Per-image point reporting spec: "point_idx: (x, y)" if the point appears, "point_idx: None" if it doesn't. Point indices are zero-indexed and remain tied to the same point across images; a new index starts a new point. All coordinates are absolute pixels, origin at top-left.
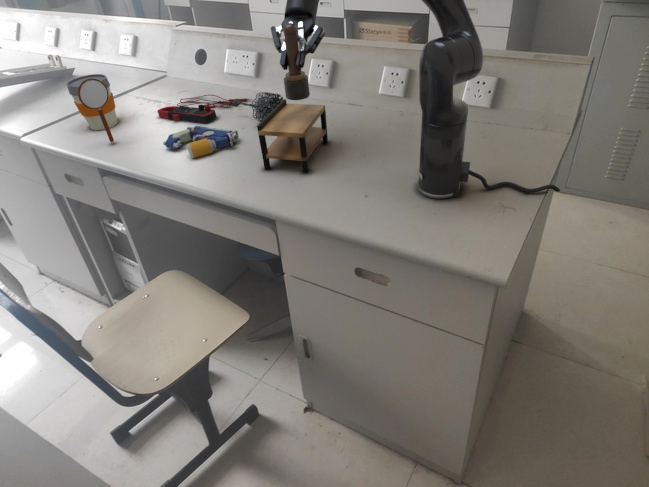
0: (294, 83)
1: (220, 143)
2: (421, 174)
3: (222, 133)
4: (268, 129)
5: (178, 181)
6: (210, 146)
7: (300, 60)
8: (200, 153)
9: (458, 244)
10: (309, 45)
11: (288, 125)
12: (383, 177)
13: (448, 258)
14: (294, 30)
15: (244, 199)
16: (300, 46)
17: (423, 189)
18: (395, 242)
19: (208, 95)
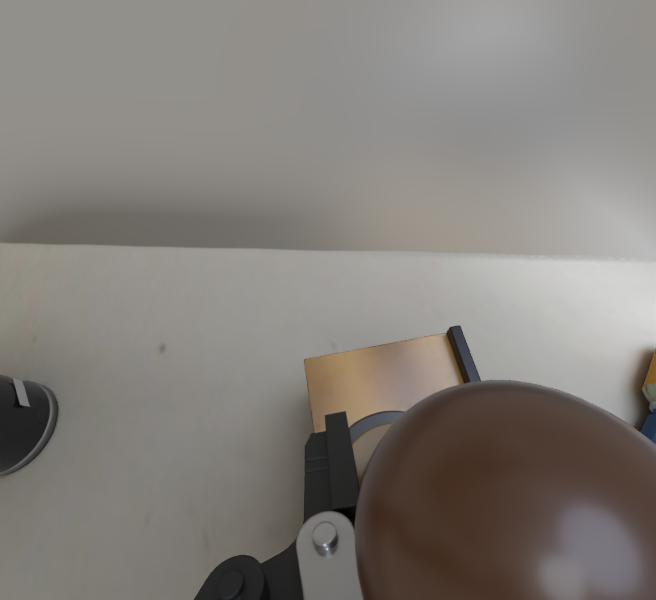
0: (365, 418)
1: (653, 421)
2: (15, 386)
3: None
4: (427, 348)
5: (573, 261)
6: (653, 385)
7: (323, 457)
8: (652, 360)
9: (9, 280)
10: (222, 583)
11: (382, 397)
12: (136, 434)
13: (27, 250)
14: (365, 486)
15: (387, 259)
16: (346, 558)
17: (38, 387)
18: (99, 253)
19: None
